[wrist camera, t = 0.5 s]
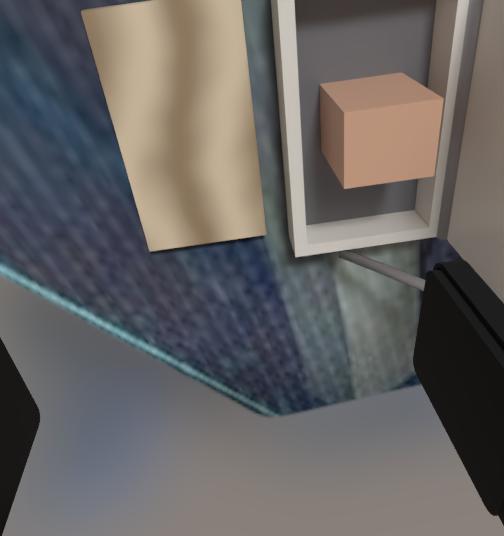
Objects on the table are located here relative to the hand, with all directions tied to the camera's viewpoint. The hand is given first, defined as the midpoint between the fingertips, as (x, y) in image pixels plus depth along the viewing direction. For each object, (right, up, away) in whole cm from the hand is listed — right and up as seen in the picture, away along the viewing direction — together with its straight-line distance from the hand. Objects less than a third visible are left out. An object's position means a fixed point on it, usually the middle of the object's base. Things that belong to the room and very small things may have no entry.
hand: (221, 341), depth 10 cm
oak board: (-4, +12, +25) cm, 27 cm away
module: (+9, +13, +24) cm, 29 cm away
